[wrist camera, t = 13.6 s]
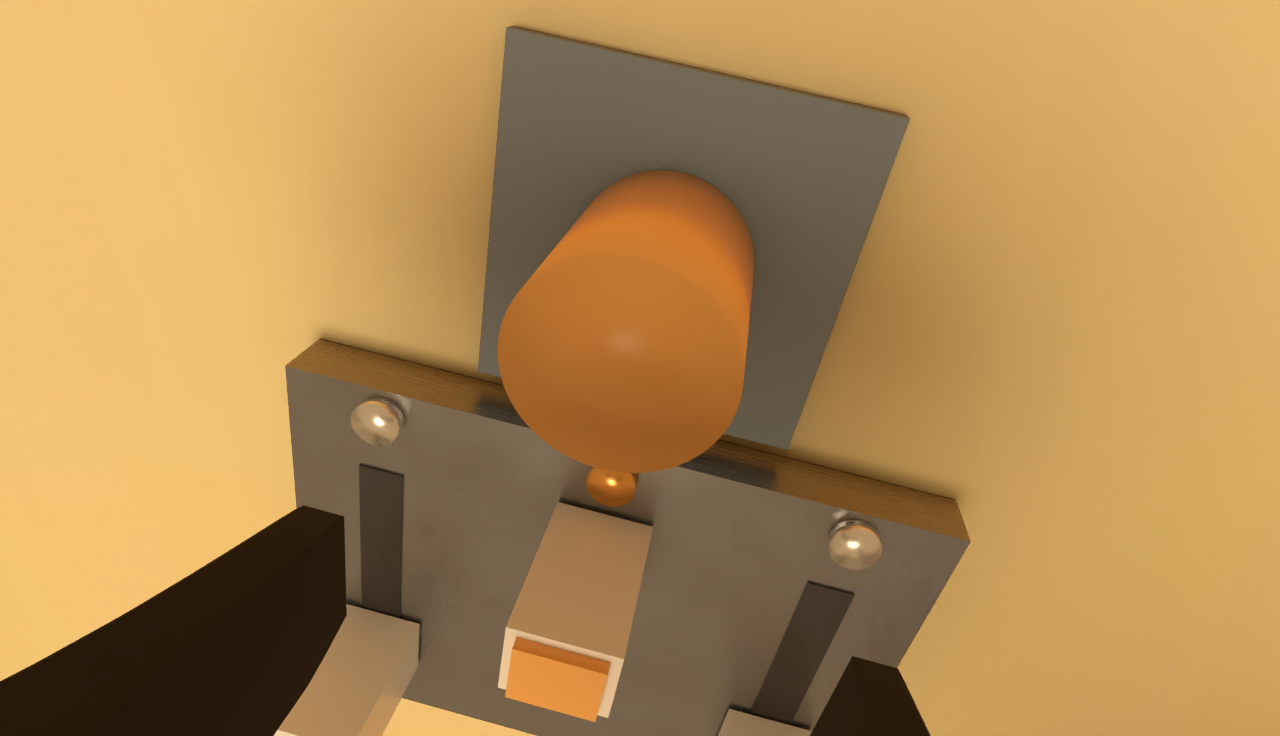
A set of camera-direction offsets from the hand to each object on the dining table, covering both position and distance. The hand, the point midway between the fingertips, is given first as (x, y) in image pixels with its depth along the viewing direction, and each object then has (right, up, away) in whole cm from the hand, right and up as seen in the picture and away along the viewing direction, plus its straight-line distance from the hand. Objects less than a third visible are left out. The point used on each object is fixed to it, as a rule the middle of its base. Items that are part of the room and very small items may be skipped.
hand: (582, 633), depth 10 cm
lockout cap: (+1, +6, +6) cm, 8 cm away
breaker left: (-7, -5, +12) cm, 14 cm away
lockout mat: (+1, +6, +6) cm, 9 cm away
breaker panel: (-1, -3, +11) cm, 12 cm away
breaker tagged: (0, -1, +8) cm, 8 cm away
